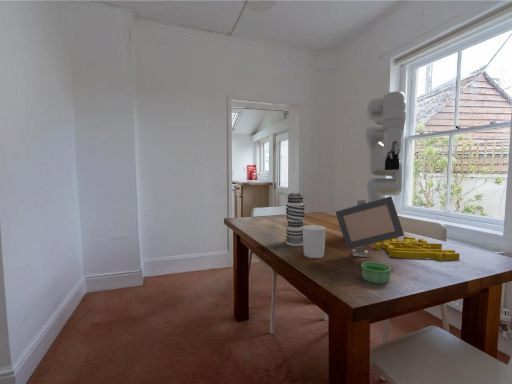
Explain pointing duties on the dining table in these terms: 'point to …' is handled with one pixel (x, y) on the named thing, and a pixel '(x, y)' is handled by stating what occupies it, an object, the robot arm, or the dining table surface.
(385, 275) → the ramekin
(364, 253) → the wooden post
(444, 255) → the decorative art
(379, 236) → the picture frame
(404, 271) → the dining table surface
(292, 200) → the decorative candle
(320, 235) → the candle holder
